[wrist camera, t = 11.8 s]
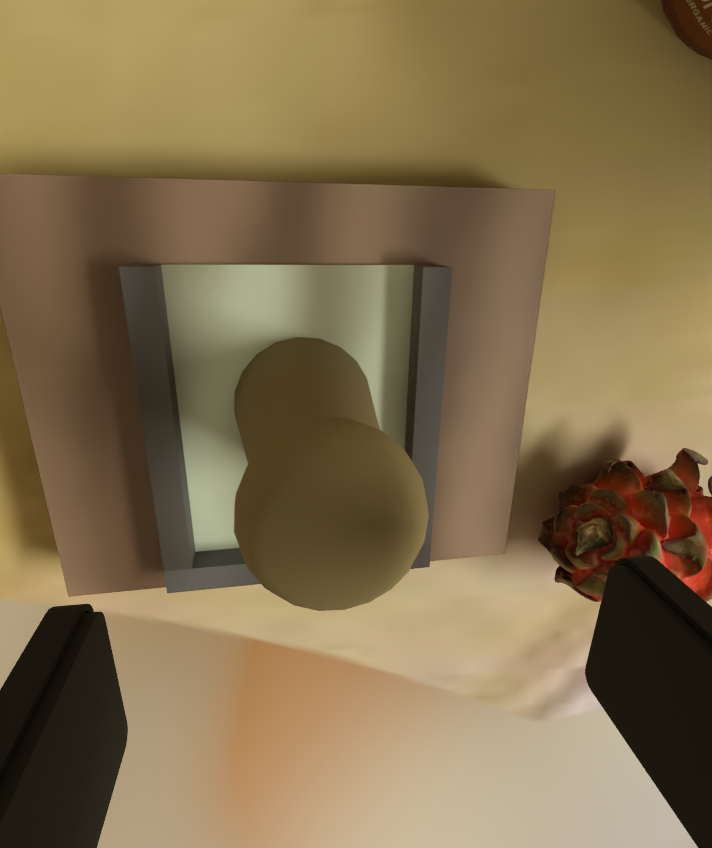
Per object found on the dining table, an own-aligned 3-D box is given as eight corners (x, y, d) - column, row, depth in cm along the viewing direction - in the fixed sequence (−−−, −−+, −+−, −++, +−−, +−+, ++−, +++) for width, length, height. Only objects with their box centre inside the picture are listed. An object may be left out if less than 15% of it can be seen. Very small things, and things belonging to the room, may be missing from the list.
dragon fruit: (491, 489, 31) (642, 459, 35) (530, 632, 29) (687, 586, 33) (580, 460, 23) (765, 425, 27) (642, 654, 21) (834, 589, 25)
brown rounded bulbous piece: (208, 371, 21) (160, 501, 11) (342, 314, 21) (418, 390, 11) (269, 487, 23) (277, 683, 13) (389, 435, 23) (488, 590, 13)
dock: (521, 194, 24) (576, 186, 20) (482, 524, 30) (517, 570, 26) (9, 180, 20) (-57, 167, 16) (88, 558, 26) (56, 619, 22)
